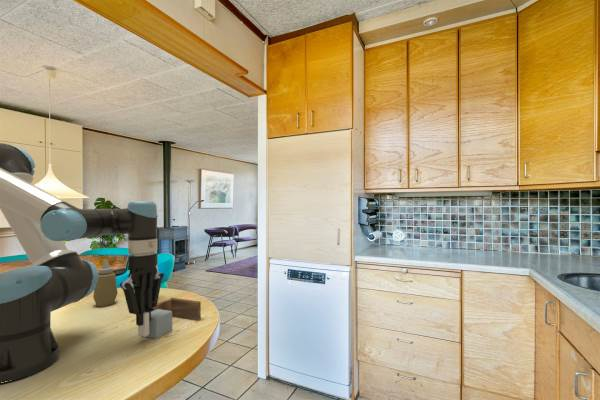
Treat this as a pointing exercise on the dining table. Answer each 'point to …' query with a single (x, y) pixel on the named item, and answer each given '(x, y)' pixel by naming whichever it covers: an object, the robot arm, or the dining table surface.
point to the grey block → (160, 323)
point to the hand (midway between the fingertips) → (143, 334)
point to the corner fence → (181, 308)
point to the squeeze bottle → (105, 286)
